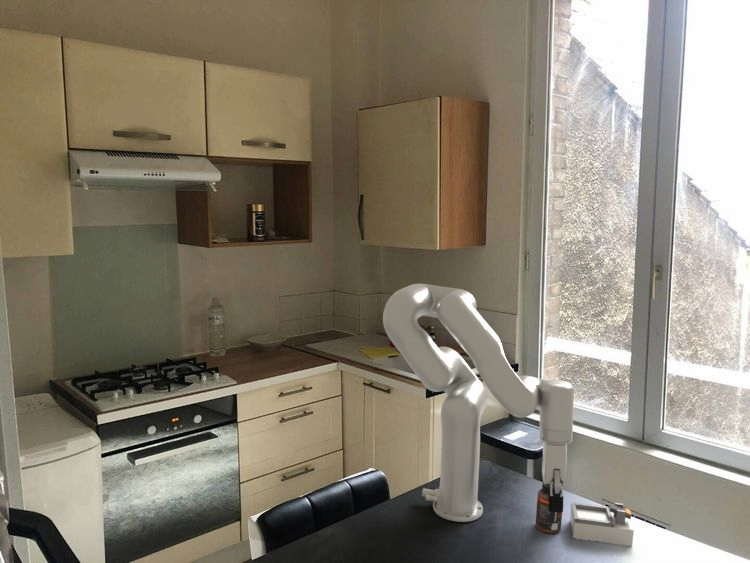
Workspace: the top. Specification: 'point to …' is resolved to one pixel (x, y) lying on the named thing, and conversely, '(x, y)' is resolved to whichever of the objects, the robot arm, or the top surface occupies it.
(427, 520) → the top surface
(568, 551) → the top surface
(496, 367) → the robot arm
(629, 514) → the breaker lever
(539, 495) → the supplement bottle
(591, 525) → the box
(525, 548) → the top surface
